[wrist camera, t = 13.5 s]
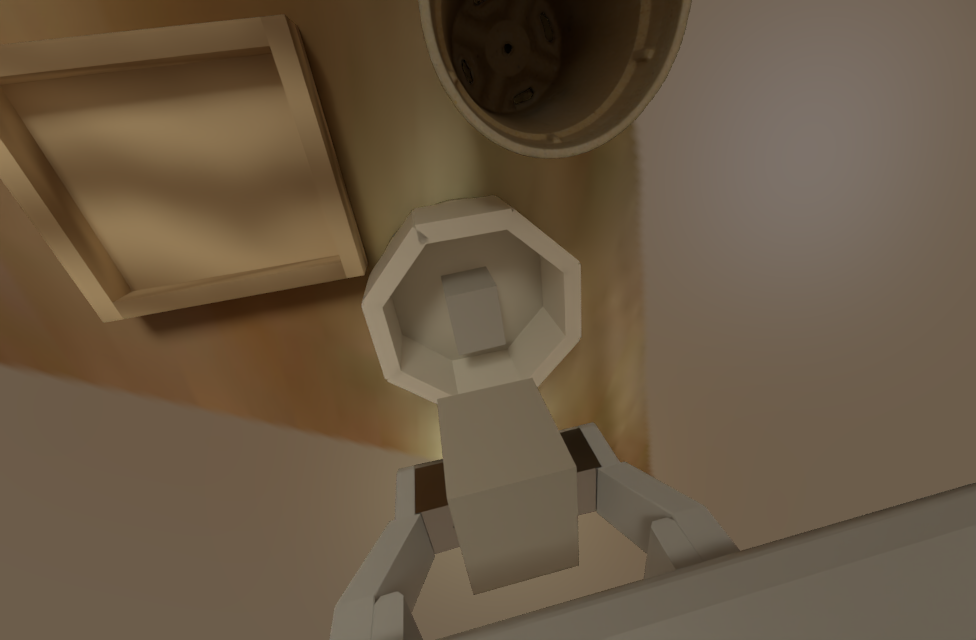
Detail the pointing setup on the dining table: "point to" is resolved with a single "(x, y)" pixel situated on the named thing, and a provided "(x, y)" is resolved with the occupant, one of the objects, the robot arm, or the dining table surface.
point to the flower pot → (553, 66)
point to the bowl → (423, 309)
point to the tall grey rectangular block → (474, 310)
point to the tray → (177, 163)
